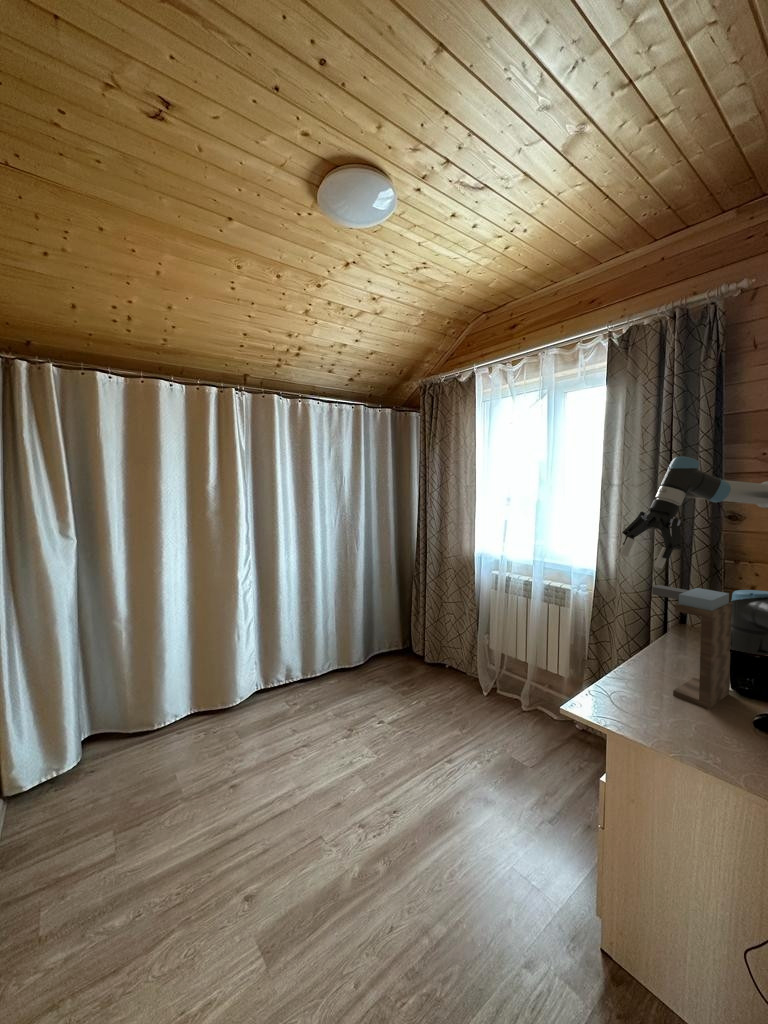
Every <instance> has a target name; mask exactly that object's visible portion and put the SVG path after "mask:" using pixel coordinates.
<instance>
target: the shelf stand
mask: <svg viewBox="0 0 768 1024" xmlns="http://www.w3.org/2000/svg"><path fill="white" fill-rule="evenodd" d="M674 610H675V612H678V613H683V614H688V615H691V616H697V617H701V620H700V621H701V622H700V650H699V651H700V653H699V655H700V656H699V678H696V677H692V678H690V679H689V680H687V681H686V682H685V683H682V684H681V685H680V686H678V687H676V688H675V689H673V691H672V694H673V696H675V697H677V698H680V699H682V700H684V701H688V702H690V703H693V704H696V705H697V706H700V707H703V708H705V709H708V710H710V709H712V708H713V707H714V706H716V705H717V704H718V703H719V702H721V701H722V700H723V699H724V698H726V697H727V696H728V695H729V694H730V675H731V674H730V673H731V672H730V671H731V669H730V668H731V652H730V649H731V620H732V603H731V602H729V603H728V604H726V605H724V606H722V607H720V608H717V609H715V610H713V611H709V610H704V609H699V608H695V607H690V606H685V605H680V604H679V602H678V603H675V606H674Z"/></svg>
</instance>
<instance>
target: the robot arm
mask: <svg viewBox="0 0 768 1024" xmlns="http://www.w3.org/2000/svg"><path fill="white" fill-rule="evenodd" d="M700 464H701V463H700V462H699V460H697V459H695V458H692V457H688V456H683V455H682V456H676V457H674V458H673V459H672V460H671V461H670V463H669V466H668V467H667V470H666V472H665V474H664V476H663V479H662V481H661V484H660V486H659V488H658V490H657V492H656V495H655V497H654V498H655V499H653V501H652V503H651V505H650V507H649V510H650V511H649V513H646V512H644V511H640V512H639V514H638V515H637V516H636V518H634V520H633V521H632V522H631V523H630V524H629V525H628V526H627V527H626V528H625V529H624V530H623V531H622V534H623V535H625V538H624V541H623V543H622V545H623V546H622V548H621V551H620V553H619V555H621V556H623V557H625V558H628V556H629V553H630V551H631V550H632V547H633V545H634V543H635V541H636V540H635V538H637V537H638V536H640V535H641V534H642V533H644V532H646V531H648V530H650V529H653V530H654V529H655V530H656V529H657V530H659V531H660V532H661V535H662V539H663V541H664V545H663V546H662V547H661V550H660V552H659V553H658V556H657V558H656V560H655V563H654V565H653V566H654V567H656V568H659V569H663V568H664V566H665V564H666V561H667V560H669V559H670V557H671V555H672V554H673V552H674V551H675V550H678V551H681V549H682V536H681V535H682V534H681V533H682V532H681V529H682V524H683V520H681V519H679V518H677V517H676V516H677V515H678V513H679V510H680V506H681V505H682V504H683V502H684V499H699V500H706V501H709V502H711V503H721V502H729V503H738V504H739V503H740V504H741V503H742V504H749V505H751V504H752V505H757V507H759V508H763V509H768V480H767V481H763V482H760V483H759V482H758V483H757V482H748V481H747V482H746V481H738V480H737V481H735V480H726V479H722V478H721V477H717V476H714V475H713V474H709V473H707V472H704V471H702V470H701V469H699V468H700ZM670 526H671V528H670ZM730 603H732V620H731V649H732V650H736V651H742V652H748V653H754V654H760V655H768V591H767V590H757V589H755V590H754V589H738V590H734V591H733V592H732V594H731V600H730Z"/></svg>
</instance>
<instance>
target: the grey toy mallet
mask: <svg viewBox="0 0 768 1024" xmlns="http://www.w3.org/2000/svg"><path fill="white" fill-rule="evenodd" d="M651 589H652V592H651V594H652V595H653V596H659V597H663V598H669V599H674V600H678V603H679V604H680V605H685V606H690V607H695V608H699V609H704V610H709V611H713V610H715V609H717V608H720V607H722V606H724V605H726V604H728V603H730V593H729V592H723V591H717V590H713V589H706V588H700V587H695V588H693V589H684V588H678V587H673V586H668V585H662V584H657V585H654V586H652V587H651Z"/></svg>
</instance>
